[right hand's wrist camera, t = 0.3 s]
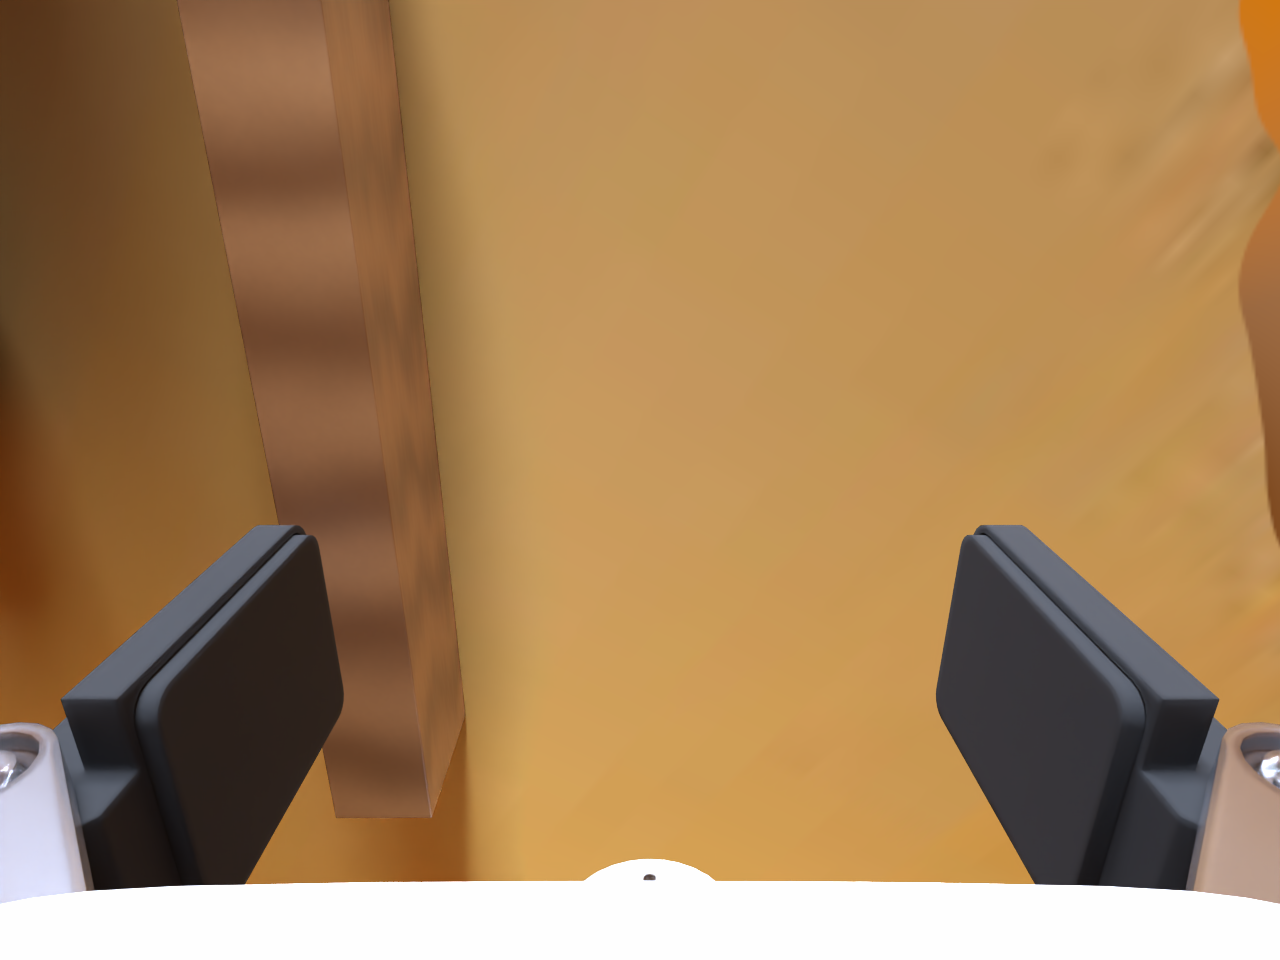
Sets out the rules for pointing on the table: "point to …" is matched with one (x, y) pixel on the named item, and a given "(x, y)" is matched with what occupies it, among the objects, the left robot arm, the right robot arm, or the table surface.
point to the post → (339, 362)
